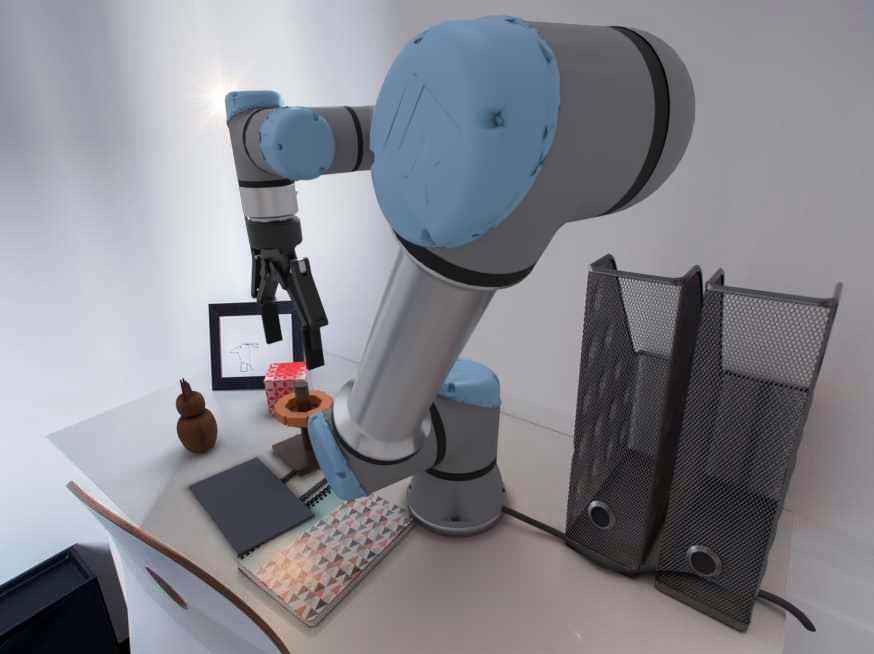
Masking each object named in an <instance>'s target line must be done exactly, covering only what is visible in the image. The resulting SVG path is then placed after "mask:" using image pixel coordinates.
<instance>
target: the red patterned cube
mask: <svg viewBox="0 0 874 654" xmlns="http://www.w3.org/2000/svg"><path fill="white" fill-rule="evenodd" d="M298 381H306V382H308V387H309V390H314V385H313V384H314V383H313V377H312V370H308V369H307V367H306V361H293V362H271V363H270V365H269V367H268V369H267V372H266V374H265V376H264V379H263V384H264V391H265V395H266V396H265V397H266V401H267V407H268V411H269V416H272V417H273V416H274V417H275V412H274V406H275V405H276V403H277V402H278V400H279V399H280V398H282V397H283V396H285V395H288V394H291V393H294V386H293V385H294V383H295V382H298Z"/></svg>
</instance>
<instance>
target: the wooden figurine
mask: <svg viewBox="0 0 874 654" xmlns="http://www.w3.org/2000/svg"><path fill="white" fill-rule="evenodd" d="M179 383H180V384H179V386H180V389H181V393H180V394H178V396H177V397H176V399H175V408H176V411H177V413H178V414H179V415H180V416H179V418H178V420H177V422H176V435H177V438H178V440H179V441H180V443H181V445H182V446H183V447H184V448H185V450H187V451H188V452H189V453H191V454H195V455H201V454H205V453H207V452H208V451H210V450H212V449H213V448H214V446H215V445H216V442H217V439H218V433H219V431H218V423H217V420H216V417H215V415H214V414H213V413H212V410H210V409H209V408H207V407H206V399H205V397H204V396H203V394H202V393H201V392H200V391H197V390H193V389H192V386H191V385H190V383H189V382H188V381H187V380H185V378H184V377H182V379H179Z"/></svg>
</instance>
